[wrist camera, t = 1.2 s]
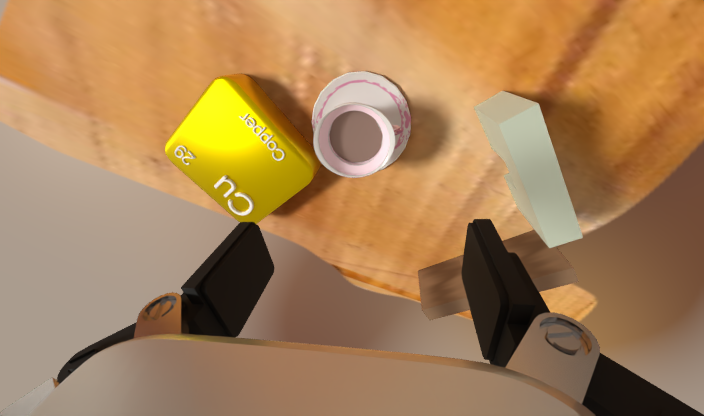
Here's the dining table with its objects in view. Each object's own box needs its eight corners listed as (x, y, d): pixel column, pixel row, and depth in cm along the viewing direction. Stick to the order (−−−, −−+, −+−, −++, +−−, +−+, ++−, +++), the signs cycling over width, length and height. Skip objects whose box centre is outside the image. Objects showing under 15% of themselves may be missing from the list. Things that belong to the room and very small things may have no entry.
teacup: (328, 178, 35) (316, 200, 30) (299, 85, 29) (278, 93, 24) (416, 163, 32) (420, 185, 27) (403, 57, 27) (405, 58, 21)
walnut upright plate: (540, 227, 34) (573, 267, 28) (545, 240, 35) (578, 281, 29) (417, 270, 41) (421, 310, 35) (424, 280, 42) (429, 320, 36)
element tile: (327, 163, 34) (318, 177, 30) (260, 215, 41) (245, 233, 37) (242, 64, 29) (218, 66, 25) (181, 141, 36) (154, 153, 32)
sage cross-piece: (502, 90, 27) (538, 103, 20) (543, 198, 32) (583, 237, 25) (473, 107, 28) (498, 124, 21) (518, 208, 33) (549, 248, 26)
